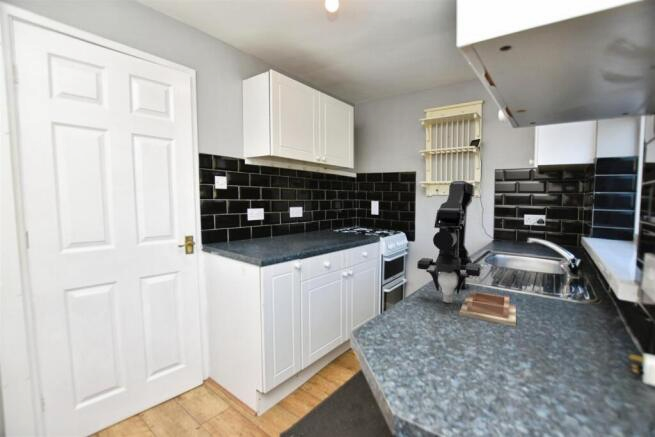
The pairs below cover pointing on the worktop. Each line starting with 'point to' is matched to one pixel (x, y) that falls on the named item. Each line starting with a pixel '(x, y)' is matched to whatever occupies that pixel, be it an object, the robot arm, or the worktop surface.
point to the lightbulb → (447, 284)
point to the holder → (489, 308)
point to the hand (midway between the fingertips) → (447, 292)
